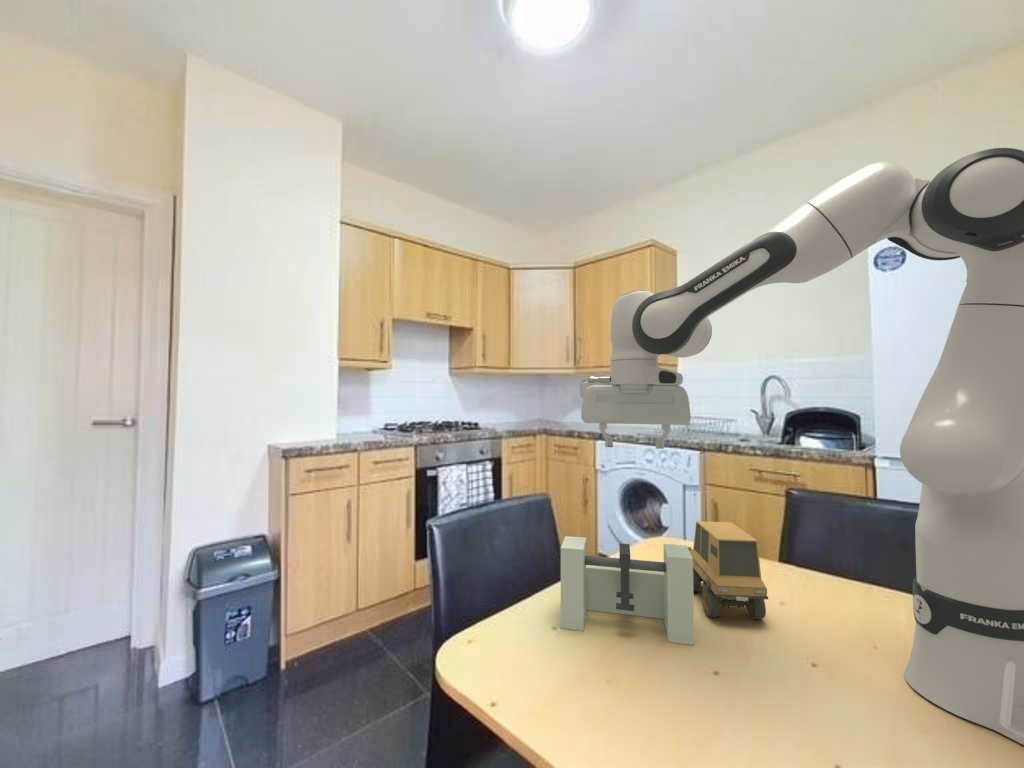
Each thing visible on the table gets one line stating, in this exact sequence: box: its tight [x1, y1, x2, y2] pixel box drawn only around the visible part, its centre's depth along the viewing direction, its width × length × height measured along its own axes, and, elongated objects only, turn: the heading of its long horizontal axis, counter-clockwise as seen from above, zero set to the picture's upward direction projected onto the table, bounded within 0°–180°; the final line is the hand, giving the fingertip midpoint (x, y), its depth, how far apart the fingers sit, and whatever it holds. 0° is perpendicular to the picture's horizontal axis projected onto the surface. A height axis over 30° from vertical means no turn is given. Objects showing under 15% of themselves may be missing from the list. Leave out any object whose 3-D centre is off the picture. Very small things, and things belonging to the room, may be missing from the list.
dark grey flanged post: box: [616, 542, 634, 611], centre depth 79 cm, size 3×7×9 cm, turn 166°
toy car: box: [687, 520, 769, 620], centre depth 88 cm, size 10×19×15 cm, turn 174°
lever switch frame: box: [560, 535, 695, 646], centre depth 80 cm, size 22×10×14 cm, turn 76°
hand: (634, 447), depth 85 cm, fingers open, 8 cm apart
